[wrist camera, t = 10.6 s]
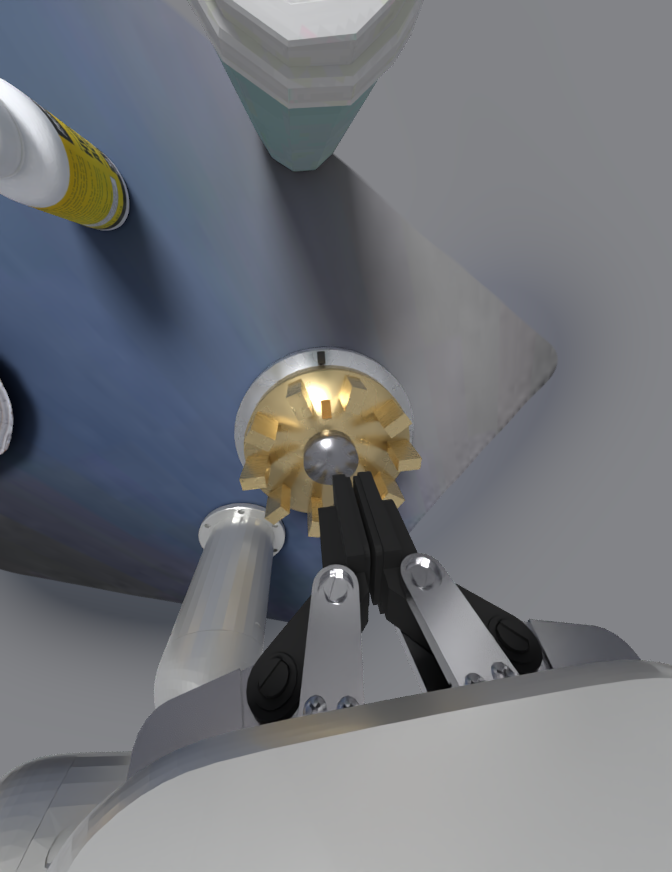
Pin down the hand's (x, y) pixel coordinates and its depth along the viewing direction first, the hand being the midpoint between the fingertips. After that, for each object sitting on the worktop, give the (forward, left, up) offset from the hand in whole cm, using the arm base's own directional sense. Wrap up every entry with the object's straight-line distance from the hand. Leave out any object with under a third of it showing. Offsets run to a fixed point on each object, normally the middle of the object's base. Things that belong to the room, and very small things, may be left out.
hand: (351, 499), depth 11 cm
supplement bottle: (+13, +19, -21) cm, 32 cm away
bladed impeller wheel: (-8, -2, -19) cm, 20 cm away
